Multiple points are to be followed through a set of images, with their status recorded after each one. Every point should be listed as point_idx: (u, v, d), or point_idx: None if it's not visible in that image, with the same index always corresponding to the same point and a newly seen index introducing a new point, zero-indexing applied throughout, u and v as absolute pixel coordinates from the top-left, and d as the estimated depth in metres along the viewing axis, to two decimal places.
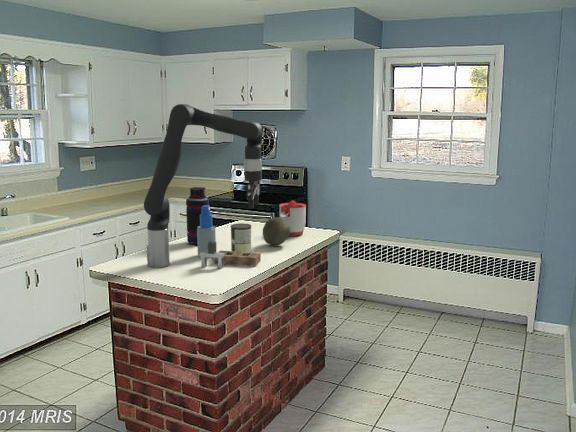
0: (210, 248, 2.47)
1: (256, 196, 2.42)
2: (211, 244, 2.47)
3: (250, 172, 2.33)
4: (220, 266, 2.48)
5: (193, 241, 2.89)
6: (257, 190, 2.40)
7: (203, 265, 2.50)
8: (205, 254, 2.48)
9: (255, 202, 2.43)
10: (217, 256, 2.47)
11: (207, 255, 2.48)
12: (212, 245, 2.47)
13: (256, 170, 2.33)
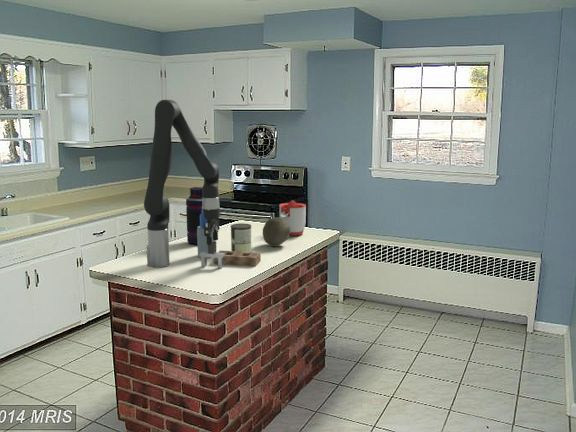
0: (210, 248, 2.47)
1: (215, 232, 2.51)
2: None
3: (208, 210, 2.42)
4: (220, 266, 2.48)
5: (193, 241, 2.89)
6: (216, 227, 2.49)
7: (203, 265, 2.50)
8: (205, 254, 2.48)
9: (215, 238, 2.52)
10: (217, 256, 2.47)
11: (207, 255, 2.48)
12: (212, 245, 2.47)
13: (213, 208, 2.42)
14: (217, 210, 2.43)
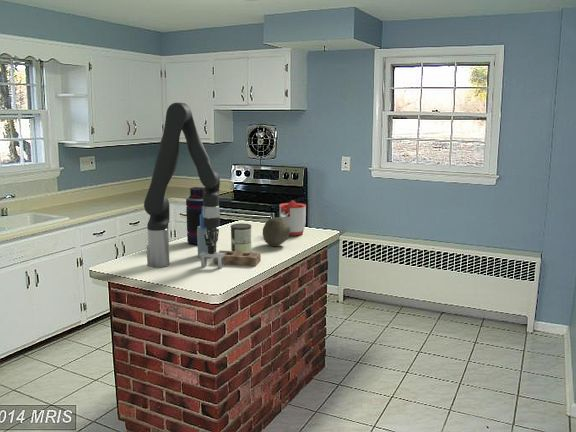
0: None
1: None
2: None
3: (208, 219, 2.43)
4: (220, 266, 2.48)
5: (193, 241, 2.89)
6: (215, 236, 2.49)
7: (203, 265, 2.50)
8: (205, 254, 2.48)
9: None
10: (217, 256, 2.47)
11: (207, 255, 2.48)
12: None
13: (214, 217, 2.43)
14: (217, 219, 2.44)
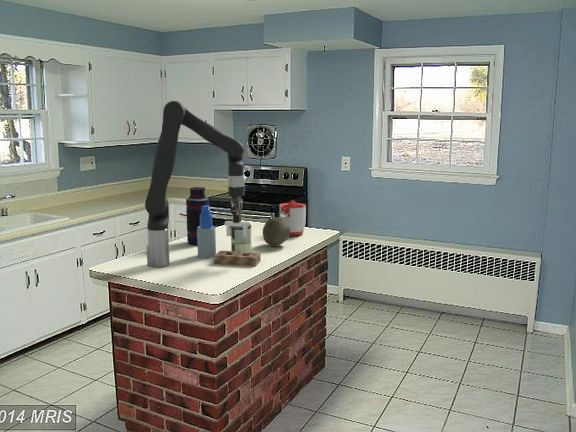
0: None
1: None
2: None
3: (233, 188, 2.48)
4: (245, 235, 2.54)
5: (193, 241, 2.89)
6: (240, 205, 2.54)
7: (228, 234, 2.55)
8: (230, 223, 2.54)
9: None
10: (242, 225, 2.53)
11: (232, 224, 2.54)
12: None
13: (239, 186, 2.48)
14: (242, 188, 2.50)
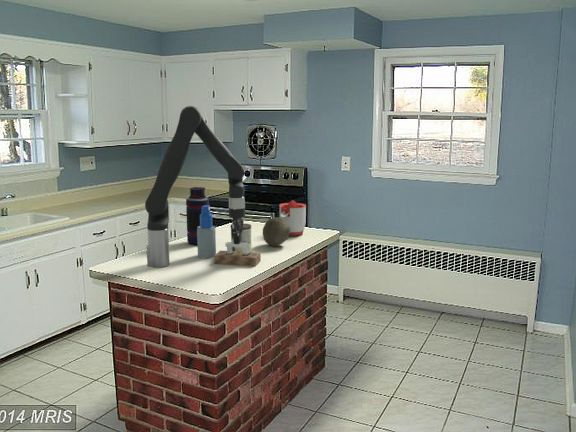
0: None
1: None
2: None
3: (234, 210, 2.50)
4: None
5: (193, 241, 2.89)
6: (240, 227, 2.56)
7: None
8: (231, 244, 2.56)
9: None
10: (243, 246, 2.55)
11: (233, 245, 2.56)
12: None
13: (239, 208, 2.50)
14: (243, 210, 2.52)
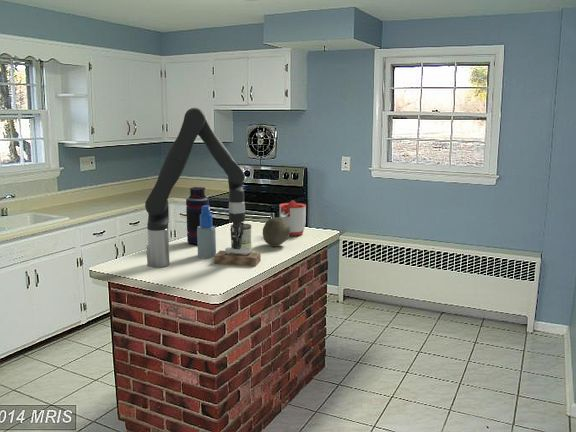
0: None
1: (239, 237, 2.59)
2: None
3: (234, 214, 2.50)
4: None
5: (193, 241, 2.89)
6: (240, 231, 2.57)
7: None
8: (231, 250, 2.56)
9: None
10: (242, 251, 2.55)
11: (233, 251, 2.56)
12: None
13: (239, 212, 2.50)
14: (243, 214, 2.52)
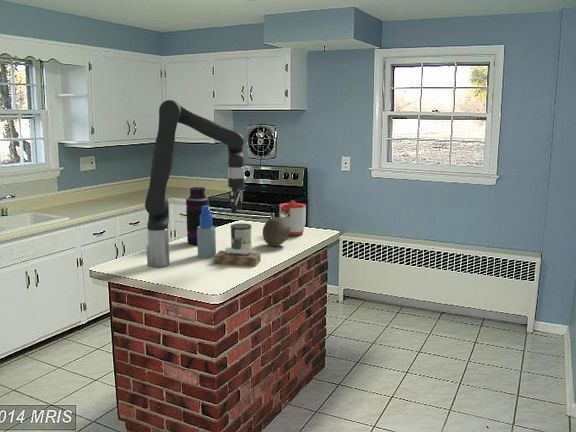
0: (235, 244, 2.55)
1: (239, 202, 2.57)
2: (237, 240, 2.55)
3: (233, 179, 2.47)
4: None
5: (193, 241, 2.89)
6: (240, 196, 2.55)
7: None
8: (231, 250, 2.56)
9: (238, 207, 2.58)
10: (242, 251, 2.55)
11: (232, 251, 2.56)
12: (237, 241, 2.55)
13: (239, 178, 2.48)
14: (242, 179, 2.49)
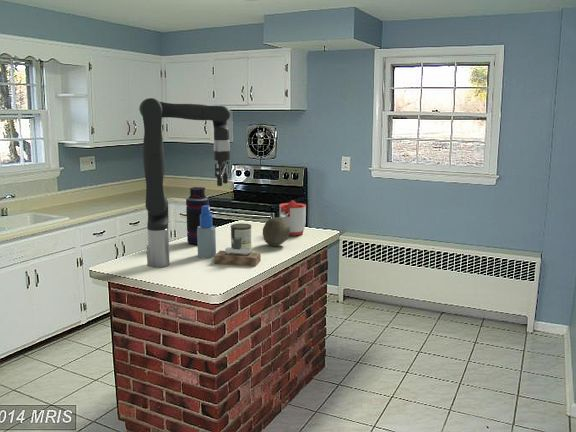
0: (235, 244, 2.55)
1: (225, 175, 2.60)
2: (237, 240, 2.55)
3: (219, 152, 2.50)
4: None
5: (193, 241, 2.89)
6: (226, 169, 2.58)
7: None
8: (231, 250, 2.56)
9: (224, 181, 2.61)
10: (242, 251, 2.55)
11: (232, 251, 2.56)
12: (237, 241, 2.55)
13: (224, 150, 2.50)
14: (228, 152, 2.52)
